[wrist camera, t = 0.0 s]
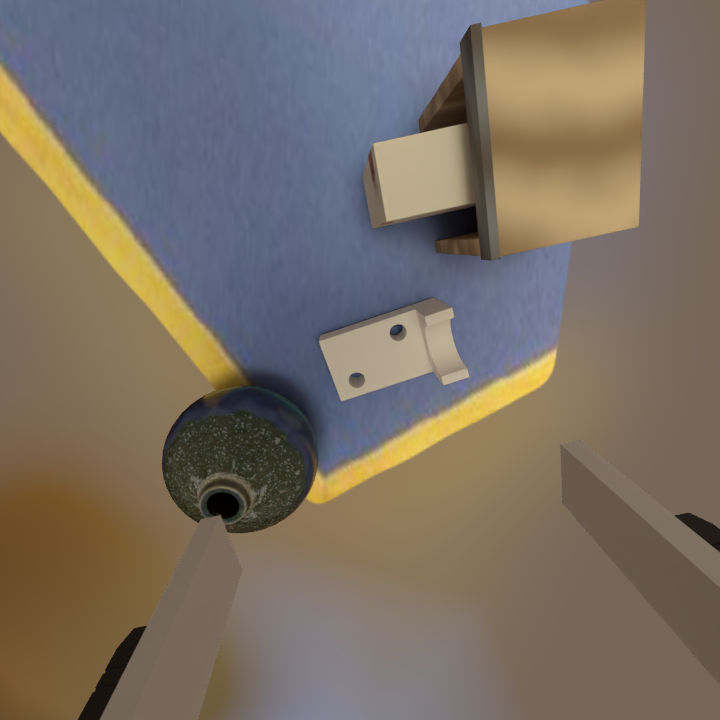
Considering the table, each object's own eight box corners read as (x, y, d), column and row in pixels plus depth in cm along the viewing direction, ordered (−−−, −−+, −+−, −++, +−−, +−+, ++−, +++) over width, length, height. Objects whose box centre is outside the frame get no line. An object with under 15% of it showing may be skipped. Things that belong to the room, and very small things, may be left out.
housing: (414, 119, 34) (470, 25, 20) (516, 96, 34) (650, -16, 20) (432, 254, 38) (491, 260, 24) (525, 234, 38) (642, 227, 23)
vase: (225, 499, 46) (182, 596, 33) (166, 395, 41) (90, 461, 29) (339, 462, 45) (338, 546, 33) (292, 351, 41) (270, 399, 28)
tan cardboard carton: (362, 175, 36) (372, 142, 24) (461, 153, 36) (519, 110, 24) (372, 229, 37) (386, 222, 26) (467, 208, 37) (524, 192, 26)
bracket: (431, 296, 40) (451, 307, 33) (446, 354, 42) (469, 377, 35) (320, 333, 41) (316, 352, 33) (341, 389, 43) (341, 418, 35)
